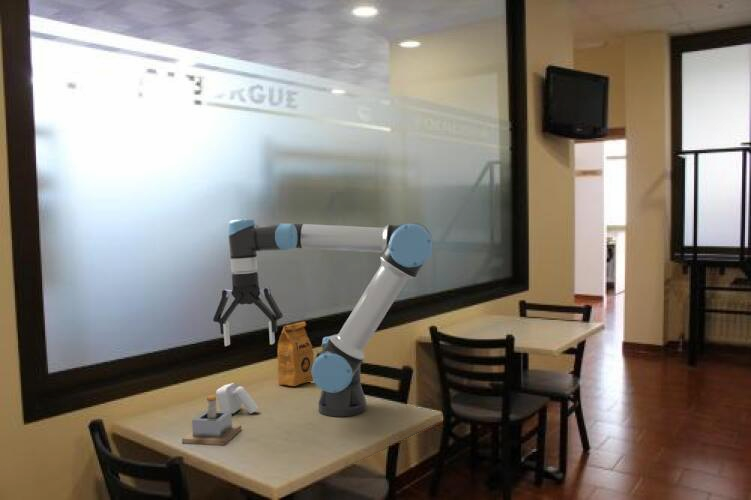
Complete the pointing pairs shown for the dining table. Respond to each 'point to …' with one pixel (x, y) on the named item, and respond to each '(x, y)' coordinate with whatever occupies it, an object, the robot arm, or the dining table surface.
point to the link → (212, 424)
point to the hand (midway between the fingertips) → (249, 344)
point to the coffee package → (294, 356)
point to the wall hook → (234, 398)
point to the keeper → (212, 440)
